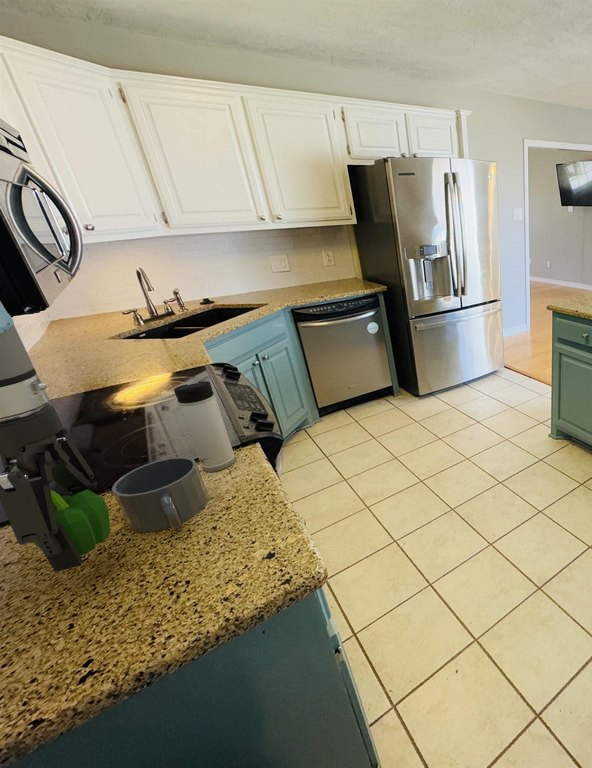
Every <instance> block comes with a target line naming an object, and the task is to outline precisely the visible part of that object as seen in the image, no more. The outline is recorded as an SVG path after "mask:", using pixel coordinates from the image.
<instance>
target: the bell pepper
mask: <svg viewBox="0 0 592 768" xmlns="http://www.w3.org/2000/svg"><path fill="white" fill-rule="evenodd" d="M50 492H51V496H52V501H53V506H54V511H55V516H56V521H57V525H58V528H59V527H64V528H65V530H66V532H67V534H68V536H69V537H70V539H71V541H72V543H73V545H74V546H75V548H76V550H77V552H78V554H79V555H80V557H82V556H84V555H87V554H89V552H92V551H93V550H95V549H96V546H97V545H98V544H100V543H103V542H105V540H107V539H108V538H109V536H110V533H111V525H110V522H111V521H110V513H109V508H108V505H107V502H106V500H105V499H104V498H103V497H101V496H100V495H99V494H97V493H95V492H93V491H90V489H89V490H85V491H82V492H79V493H77V494H75V495H73V496H67V495H60V494H59V493H57V492H56V491H54V490H51V489H50ZM32 544H34V545H35V546H36V547H37V548H39V549H40V550H41V548H40V546H39V545H38V543H37V542H36V541H35V542H32Z"/></svg>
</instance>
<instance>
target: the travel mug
mask: <svg viewBox="0 0 592 768" xmlns="http://www.w3.org/2000/svg"><path fill="white" fill-rule="evenodd" d="M173 393H174V395H175V397H176V400H177V404H178V407H179V409H180V413H181V415H182V417H183V420H184V422H185V425H186V428H187V430H188V434H189V436H190V438H191V441H192V444H193V447H194V449H195V452H196V455H197V458H198V460H199V463H200V466H201V469H202V470H203V471H205V472H207V473H208V472H209V473H212V472H213V473H214V472H219V471H222V470H225V469H227V468H229V467H230V466H232V465H234V463H236V456H235V453H234V450H233V447H232V443H231V441H230V438H229V437H230V436H229V435H228V431H227V429H226V425H225V423H224V419H223V417H222V413H221V410H220V408H219V404H218V400H217V398H216V395H215V392H214V391H213V387H212V384H211V381H209V380H202V381H197V382H196V383H195V382H194V383H190V384H188V383H186V384H183V385H182V384H181V385H179V386H177V387H174V388H173Z"/></svg>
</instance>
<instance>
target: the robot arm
mask: <svg viewBox="0 0 592 768" xmlns="http://www.w3.org/2000/svg"><path fill="white" fill-rule="evenodd" d="M47 388H48V386H47V384H46V383H45V382H42V381H41V379H40V377H39V375H38V373H37V370H36V368H35V367H34V365H33V362H32V360H31V358H30V355H29V354H28V352H27V349H26V347H25V344H24V343H23V341H22V339H21V337H20V335H19V333H18V331H17V327H16V326H15V323H14V319H13V317H12V315H11V314H10V313H8V311H7V310H6V308H5V306H4V305H3V303H2V302H1V300H0V461H1V466H2V468H3V470H2V471H1V472H0V504H1V505H2V508H3V510H4V512H5V513H4V514H5V515H6V518H7V520H8V522H9V524H10V527H11V530H12V531H13V534H14V536H15V539H16V541H17V544H18V545H20V546H22V545H27V544H30V543H33V542H35V541H36V542H37V543H38V545H39V546H40V548H41V549H40V548H39V549H40V551H42V553H43V555H44V556H45V558H46V559H47V561H48V563H49V565H50V567H51V568H52V569H53V572H54V573H58V572H62V571H65V570H68V569H72V568H76V567H80V566H82V564H83V563H84V561H83V559H82V556H80V555H79V554H78V552H77V550H76V548H75V546H74V545H73V543H72V541H71V539H70V537H69V536H68V534H67V532H66V530H65V528H64V527H59V528H58V525H57V521H56V516H55V511H54V506H53V501H52V496H51V492H50V490H51V487H50V484H51V483H52V482H55V483H56V484H57V485H58V486H59V487H60V488H61V489H63V490H64V491H65V492H66V493H68V494H67V495H66V496H73V495H75V494H77V493H79V492H82V491H85V490H90V489H96V488H97V487H98V481H97V480H93V479H95V474H94V472H93V471H92V469H91V467H90V466H89V464H88V462H87V461H86V460H85V458H84V457H83V455H82V454H81V452H80V451H79V449H78V448H77V446H76V444H75V443H74V442H73V440H72V437H71V434H70V431H69V429H68V428H67V427H66V426H65V427H63V425H64V424H63V423H62V420H61V418H60V416H59V414H58V412H57V410H56V408H55V406H54V405H53V404H52V403H48V402H49V400H50V397H49V395H48V392H47V391H46V389H47ZM38 478H39V479H38ZM33 479H34V480H33ZM90 480H92V481H90ZM90 491H91V490H90ZM91 492H92V491H91Z"/></svg>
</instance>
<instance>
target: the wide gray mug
mask: <svg viewBox="0 0 592 768" xmlns="http://www.w3.org/2000/svg"><path fill="white" fill-rule="evenodd" d="M111 491H112V494H113V496H114V498H115V500H116V502H117V504H118V506H119V508H120V510H121V512H122V514H123V516H124V519H125V521H126V523H127V524H128V526H129V527H130V529H131V530H133V531H134V532H136V533H137V532H138V533H153V532H158V531H162V530H167V529H170V528H172V529H178V528H180V527H181V526H182V523H184V522H186V521H188V520H189V519H192V518H193V517H195V516H196V515H197V514H198V513H199V512H201V511H202V510H203V509H204V508H205V507H206V505H207V504H208V503H209V499H210V497H209V494H208V491H207V488H206V486H205V482H204V480H203V477H202V474H201V471H200V469H199V467H198V463H197V462H196V460H195V459H193V458H191V457H186V456H178V457H168V458H164V459H159V460H155V461H153V462H149V463H146V464H144V465H141V466H139V467H137V468H134V469H132V470H131V471H129V472H127V473H126V474H124V475H122V476H121V477H120V478H118V480H117V481H115V482H114V484H113V485H112V487H111Z"/></svg>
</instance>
